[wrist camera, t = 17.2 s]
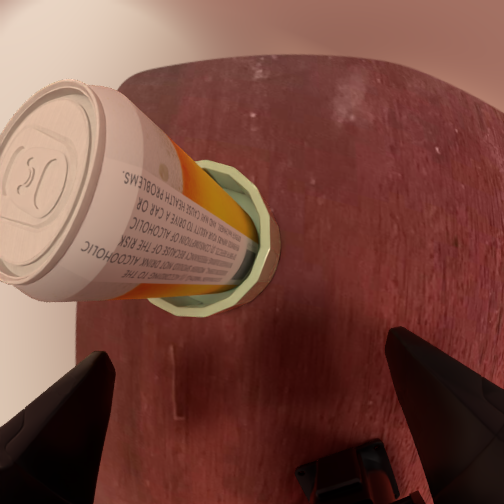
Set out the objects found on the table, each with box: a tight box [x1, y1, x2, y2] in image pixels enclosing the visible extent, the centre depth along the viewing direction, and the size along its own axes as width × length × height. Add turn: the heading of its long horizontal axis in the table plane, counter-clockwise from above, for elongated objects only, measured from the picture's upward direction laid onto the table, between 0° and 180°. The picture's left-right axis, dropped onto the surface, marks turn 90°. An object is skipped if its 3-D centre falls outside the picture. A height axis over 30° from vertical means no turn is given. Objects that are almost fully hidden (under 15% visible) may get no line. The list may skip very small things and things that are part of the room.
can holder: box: [147, 160, 281, 317], centre depth 19 cm, size 9×9×4 cm
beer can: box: [0, 79, 259, 302], centre depth 13 cm, size 6×6×15 cm
